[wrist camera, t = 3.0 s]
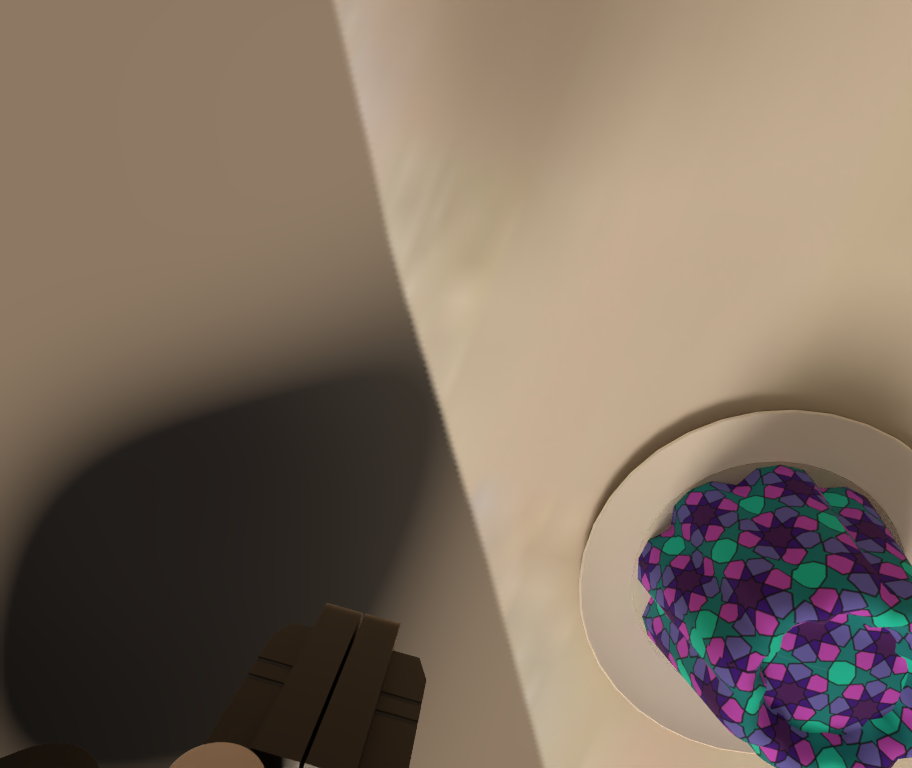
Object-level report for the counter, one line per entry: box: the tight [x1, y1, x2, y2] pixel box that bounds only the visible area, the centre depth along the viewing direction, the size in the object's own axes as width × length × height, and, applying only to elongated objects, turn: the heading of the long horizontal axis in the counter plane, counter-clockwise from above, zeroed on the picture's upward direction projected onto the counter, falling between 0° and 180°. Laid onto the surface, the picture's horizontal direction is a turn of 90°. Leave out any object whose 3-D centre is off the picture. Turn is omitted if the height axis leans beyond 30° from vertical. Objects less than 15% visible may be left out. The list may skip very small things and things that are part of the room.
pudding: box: [579, 410, 912, 768], centre depth 17 cm, size 12×12×5 cm
